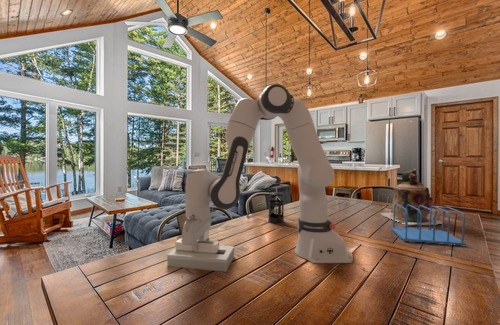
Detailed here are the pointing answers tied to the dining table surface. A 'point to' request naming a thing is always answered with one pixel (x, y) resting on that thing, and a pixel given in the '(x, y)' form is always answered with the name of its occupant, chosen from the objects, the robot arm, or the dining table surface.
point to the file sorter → (426, 234)
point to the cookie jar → (411, 200)
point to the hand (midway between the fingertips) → (197, 247)
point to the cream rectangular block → (199, 246)
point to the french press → (276, 217)
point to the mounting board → (202, 259)
